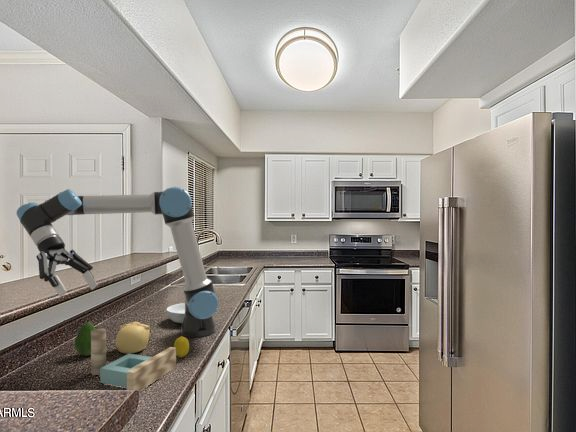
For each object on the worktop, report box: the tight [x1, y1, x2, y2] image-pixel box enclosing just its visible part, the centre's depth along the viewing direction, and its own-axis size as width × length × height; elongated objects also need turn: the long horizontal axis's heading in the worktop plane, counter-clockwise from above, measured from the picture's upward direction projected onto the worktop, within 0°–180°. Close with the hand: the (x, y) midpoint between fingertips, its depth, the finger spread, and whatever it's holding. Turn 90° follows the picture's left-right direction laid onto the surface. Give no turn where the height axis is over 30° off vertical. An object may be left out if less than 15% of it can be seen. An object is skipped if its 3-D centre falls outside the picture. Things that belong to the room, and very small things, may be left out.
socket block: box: [99, 353, 153, 388], centre depth 114 cm, size 12×12×5 cm
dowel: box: [90, 328, 107, 376], centre depth 118 cm, size 4×4×14 cm
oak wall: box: [126, 346, 177, 393], centre depth 112 cm, size 20×2×7 cm, turn 162°
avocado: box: [74, 322, 96, 357], centre depth 133 cm, size 8×8×12 cm
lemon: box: [173, 335, 190, 359], centre depth 130 cm, size 6×6×8 cm
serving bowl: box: [166, 302, 185, 324], centre depth 174 cm, size 21×21×7 cm
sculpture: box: [115, 321, 151, 355], centre depth 137 cm, size 12×12×11 cm
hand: (80, 290), depth 120 cm, fingers open, 13 cm apart
